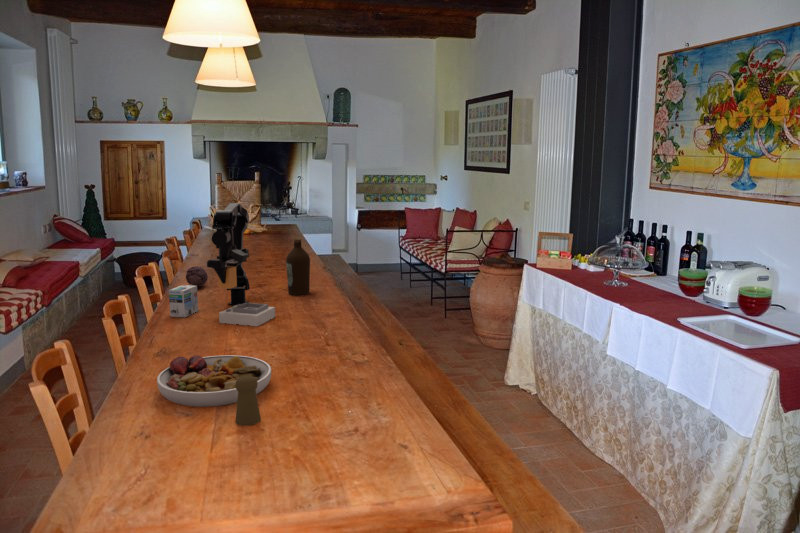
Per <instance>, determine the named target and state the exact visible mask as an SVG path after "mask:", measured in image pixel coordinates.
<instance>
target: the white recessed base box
mask: <svg viewBox="0 0 800 533" xmlns="http://www.w3.org/2000/svg"><path fill="white" fill-rule="evenodd" d="M247 308H256V309H255V310H254V309H247ZM218 318H219V324H225V323H226V325H228V324H229V325H236V324H239V326H247V325H250V326H249V327H260V326H261V325H263V324H265V323H267V322H268V321H271V320H272V319H274V318H276V307H275V306H269V304H267V303H266V304H265V303H256V302H255V303H254V302H248V303H244V304H238V305H232V306H231V307H229V308H227V309H225V310H222V311H218ZM270 319H271V320H270Z"/></svg>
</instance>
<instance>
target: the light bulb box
mask: <svg viewBox="0 0 800 533" xmlns="http://www.w3.org/2000/svg"><path fill="white" fill-rule="evenodd" d="M168 298H169V316H170V317H173V318H174V317H175V318H187V317H190V316H191V314H192V315H194V314H196V313H198V312H199V301H198V299H199V298H198V286H194V285H192V284H189V285H188V284H182V285H178V286H177V287H174V288H173V287H172V288H171V289H168ZM195 312H196V313H195ZM193 313H194V314H193Z"/></svg>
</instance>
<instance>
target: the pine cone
mask: <svg viewBox="0 0 800 533" xmlns="http://www.w3.org/2000/svg"><path fill="white" fill-rule="evenodd" d="M208 278H209V277H208V273H207V271H206V269H204V267H200V266H196V265H195V266H190V267H189V268H188V269H187V271H186V274H185V279H186V280H185V281H186V283H187V284H189V285H193V286H197V287H202V286H204V285H205V284H206V283H207V281H208V280H209V279H208Z"/></svg>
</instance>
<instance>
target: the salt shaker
mask: <svg viewBox="0 0 800 533" xmlns="http://www.w3.org/2000/svg"><path fill="white" fill-rule="evenodd" d="M257 385H258V382H257V379H256V378H255V377H253V376H242V377H239V378H238V379H237V380H236V384H235V386H236V389H237V391H238V399H237V402H236V411H235V421H234V422H235V424H236V425H238V426H245V427H246V426H253V425H256V424H258V423H260V422H261V420H262V419H261V412H260V408H259V401H258V396H257V395H258V394H256V388H257Z"/></svg>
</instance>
